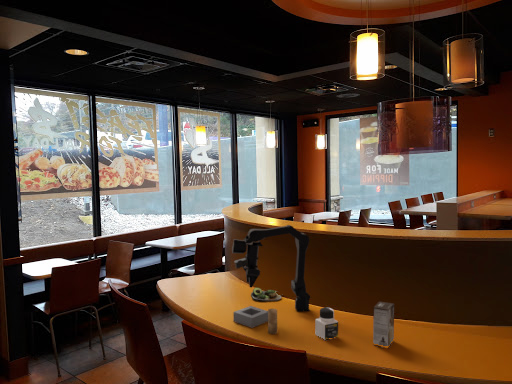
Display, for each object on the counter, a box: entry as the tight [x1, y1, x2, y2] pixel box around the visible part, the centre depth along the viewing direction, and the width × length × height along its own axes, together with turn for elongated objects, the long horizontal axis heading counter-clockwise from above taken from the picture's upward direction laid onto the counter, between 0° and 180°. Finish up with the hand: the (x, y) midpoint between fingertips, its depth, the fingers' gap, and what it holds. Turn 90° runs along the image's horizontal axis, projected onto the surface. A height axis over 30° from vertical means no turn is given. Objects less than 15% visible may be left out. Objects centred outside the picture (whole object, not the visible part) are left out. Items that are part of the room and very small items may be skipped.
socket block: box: [233, 305, 268, 329], centre depth 188 cm, size 12×12×4 cm
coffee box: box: [372, 301, 395, 346], centre depth 163 cm, size 9×6×16 cm
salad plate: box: [250, 287, 282, 303], centre depth 226 cm, size 19×18×5 cm
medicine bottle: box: [314, 307, 339, 341], centre depth 170 cm, size 7×7×12 cm
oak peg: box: [267, 308, 278, 335], centre depth 174 cm, size 4×4×10 cm
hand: (249, 284), depth 199 cm, fingers open, 9 cm apart
